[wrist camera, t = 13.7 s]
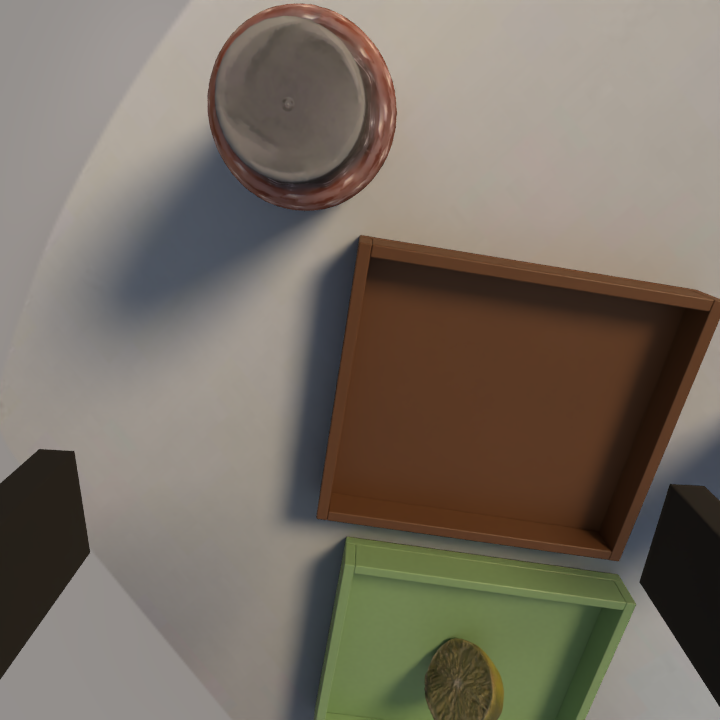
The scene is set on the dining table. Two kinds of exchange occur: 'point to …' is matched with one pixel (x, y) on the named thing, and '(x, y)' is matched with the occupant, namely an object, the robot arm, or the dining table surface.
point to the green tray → (466, 630)
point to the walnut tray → (506, 397)
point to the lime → (463, 683)
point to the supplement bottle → (302, 107)
